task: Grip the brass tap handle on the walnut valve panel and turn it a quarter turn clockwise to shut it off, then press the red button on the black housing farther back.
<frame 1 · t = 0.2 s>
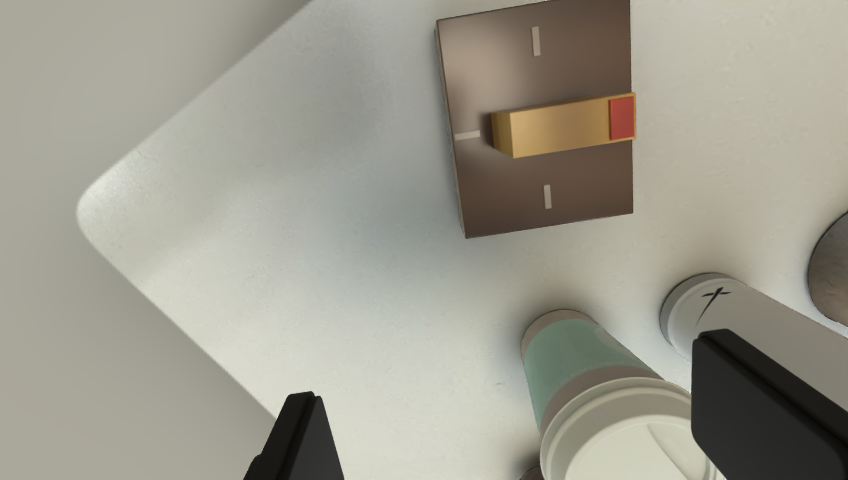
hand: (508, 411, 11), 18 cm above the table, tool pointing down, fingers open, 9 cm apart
valve panel: (528, 121, 26), on the table
travel mug: (698, 311, 31), on the table
tap handle: (556, 124, 21), point 6 cm above the table, hinge at 90.0°
coffee cup: (559, 343, 31), on the table
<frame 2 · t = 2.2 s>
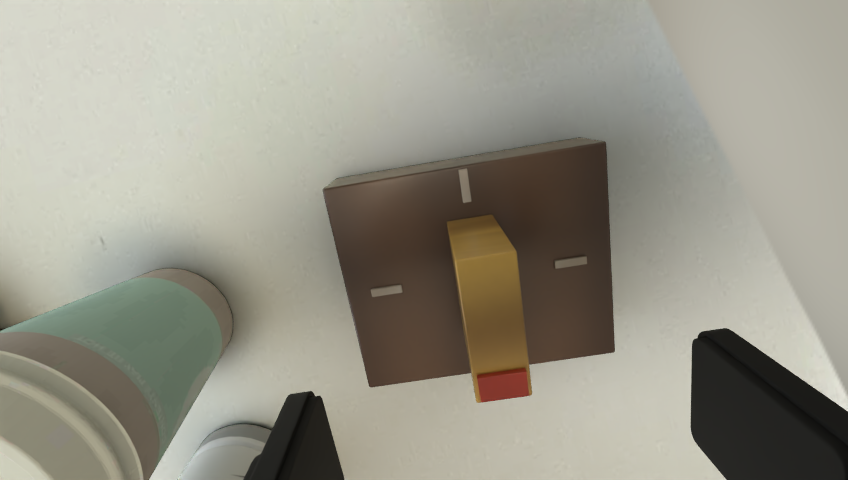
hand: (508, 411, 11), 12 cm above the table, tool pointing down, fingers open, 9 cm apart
valve panel: (470, 254, 22), on the table
travel mug: (251, 459, 26), on the table
tap handle: (485, 301, 17), point 6 cm above the table, hinge at 90.0°
coffee cup: (182, 316, 23), on the table
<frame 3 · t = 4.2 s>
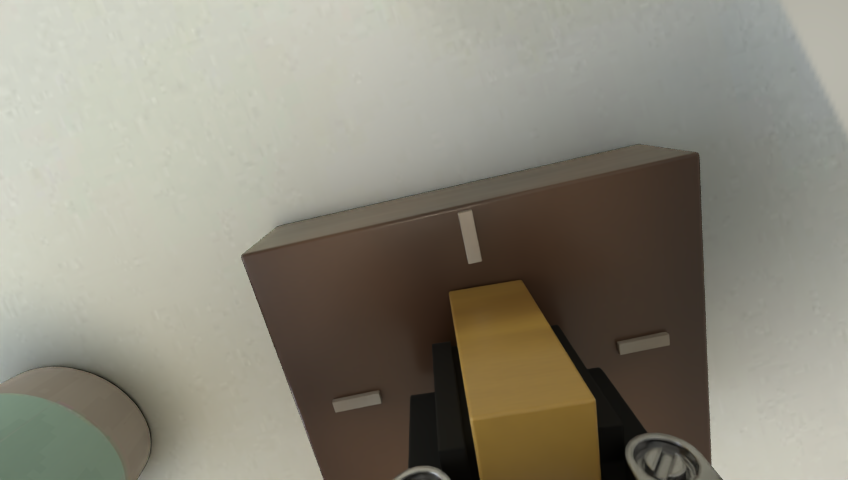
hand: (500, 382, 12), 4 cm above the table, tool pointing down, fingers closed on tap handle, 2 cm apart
valve panel: (482, 322, 15), on the table
tap handle: (518, 439, 10), point 6 cm above the table, hinge at 86.9°, touching gripper
coffee cup: (78, 427, 16), on the table
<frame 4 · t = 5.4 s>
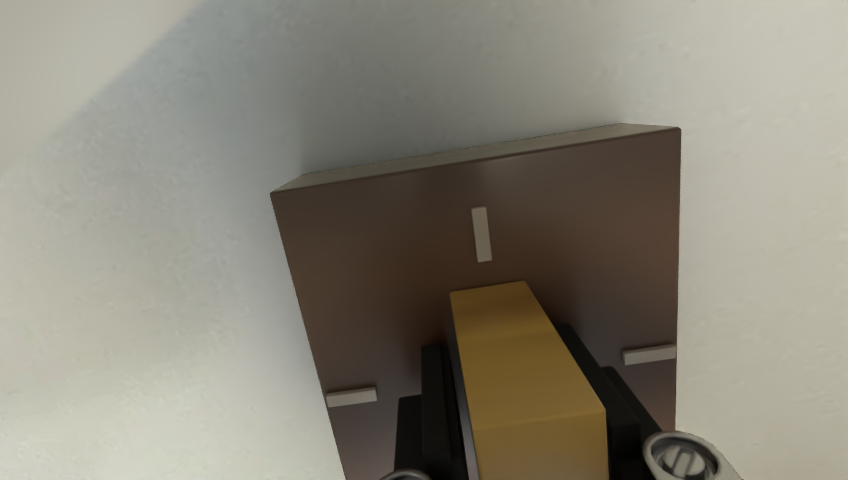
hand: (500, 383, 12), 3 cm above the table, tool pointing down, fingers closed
valve panel: (482, 323, 15), on the table
tap handle: (520, 446, 9), point 6 cm above the table, hinge at 0.5°
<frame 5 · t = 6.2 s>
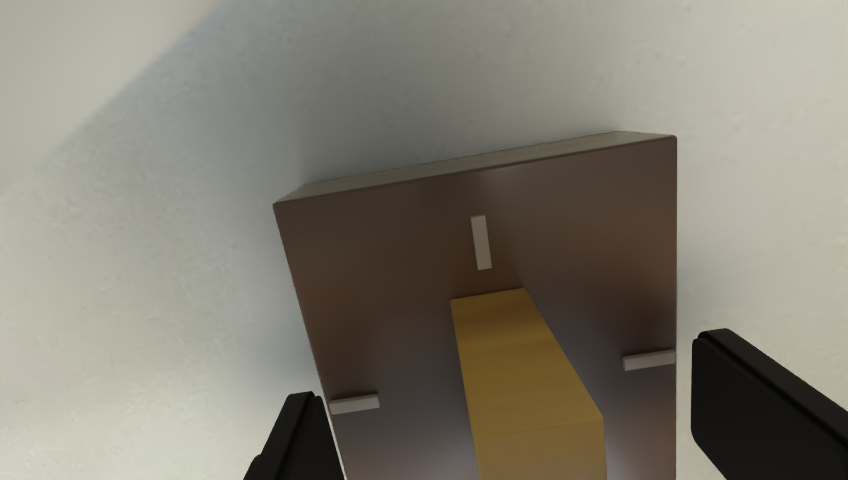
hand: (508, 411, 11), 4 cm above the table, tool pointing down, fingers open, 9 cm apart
valve panel: (483, 329, 15), on the table
tap handle: (521, 452, 9), point 6 cm above the table, hinge at 0.5°
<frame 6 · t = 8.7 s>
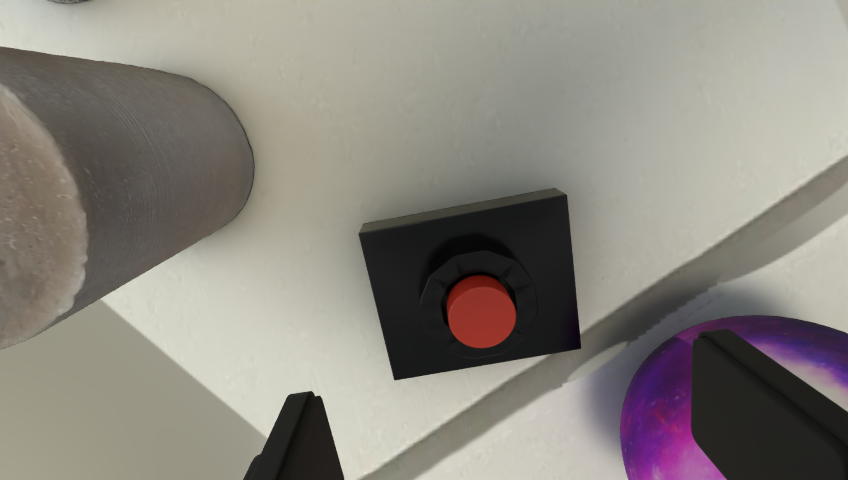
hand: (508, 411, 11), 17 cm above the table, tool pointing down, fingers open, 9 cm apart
button box: (470, 279, 28), on the table
decorative orb: (688, 373, 30), on the table
button: (480, 311, 23), point 4 cm above the table, slide at 0.1 cm
pillar candle: (176, 157, 25), on the table
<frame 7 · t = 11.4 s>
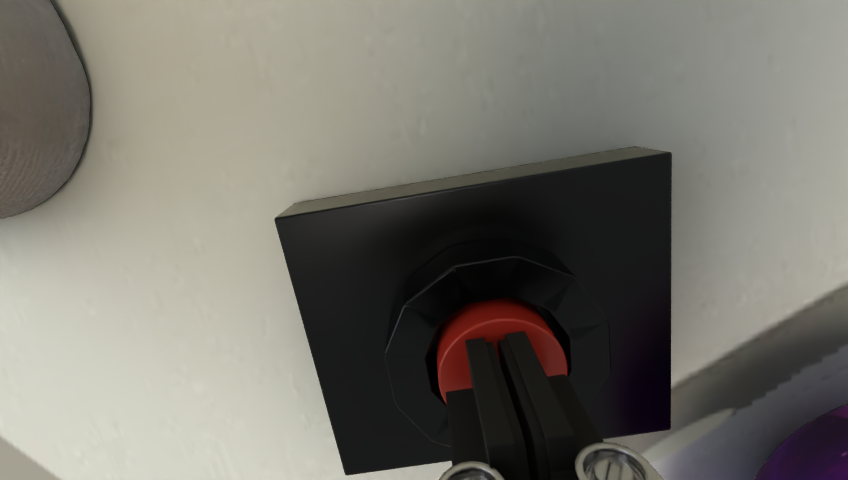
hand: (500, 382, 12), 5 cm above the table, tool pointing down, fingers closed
button box: (480, 304, 16), on the table
decorative orb: (823, 457, 19), on the table
button: (497, 360, 13), point 4 cm above the table, slide at -0.6 cm, touching gripper
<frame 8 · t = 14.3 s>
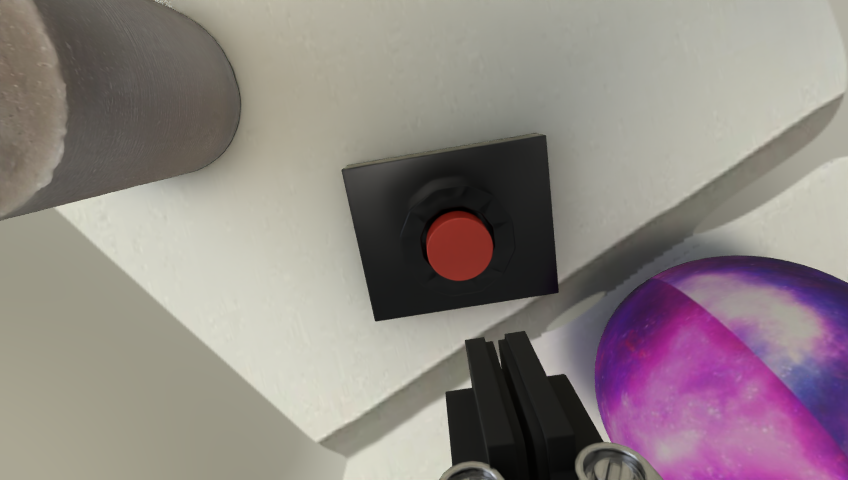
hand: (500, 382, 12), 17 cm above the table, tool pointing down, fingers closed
button box: (452, 225, 28), on the table
decorative orb: (664, 325, 31), on the table
button: (458, 245, 24), point 4 cm above the table, slide at 0.1 cm
pillar candle: (164, 93, 26), on the table
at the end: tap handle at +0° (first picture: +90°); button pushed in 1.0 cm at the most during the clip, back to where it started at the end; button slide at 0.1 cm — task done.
